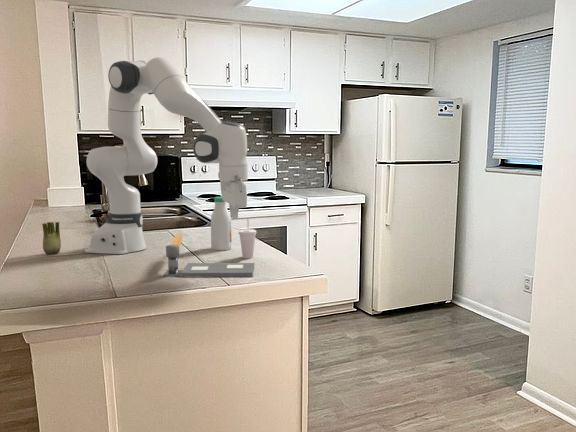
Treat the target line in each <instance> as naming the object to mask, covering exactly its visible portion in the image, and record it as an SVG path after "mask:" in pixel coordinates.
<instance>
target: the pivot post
mask: <svg viewBox="0 0 576 432" xmlns="http://www.w3.org/2000/svg"><path fill="white" fill-rule="evenodd" d="M167 264H168V265H167V267H168V269H166V271H165V272H164V273H163V277H181V272H182V271H183V270H184V269H179V257H174V258H169V257H167Z"/></svg>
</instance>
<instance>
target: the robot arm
mask: <svg viewBox="0 0 576 432" xmlns="http://www.w3.org/2000/svg"><path fill="white" fill-rule="evenodd" d="M107 75H108V76H107V77H108V81H109V84H110V90H109V94H108V100H107V101H108V103H107V127H108V130H109V132H110V133H111V134H112V135H114V136H115V137H117V138H119V139H120V140H121V139H122V142H123V145H122V146H117V145H116V146H101V147H95V148H92V149H91V150H89V152H88V154H87V156H86V167H87V169H88V170H89V172H90V173H91V174H93V175H94V176H95V177H97V178H98V179H99V180H100V181H101V182H102V184H103V185H104V186H105V189H106V191H107V194H108V195H107V196H108V201H109V212H107V214H105V215H104V216H103V217H104V220H105V223H104V224H103V225H101V226H100V227H99V228H97V229H96V230H95V231H94V232H93V233H92V234H91V237H90V242H89V245H87V246H85V247H84V251H83V252H84V253H86V254H107V255H110V254H111V255H112V254H113V255H124V254H127V253H133V252H139V251H144V250H145V249H147V248H148V247H147V244H146V240H145V237H144V236H145V235H144V232H143V223H144V222H143V221H144V220H143V212H142V211H141V210H142V209H141V193H140V191H139V189H138V188H136V187H135V186H133V185H131V184H128V183H126V181H125V178H124V177H126V176H142V175H147V174H150V173H153V172H154V171H155V169H156V168H157V165H158V156H157V154H156V153H157V152H155V150H153V149H152V147H150V146H149V145H148V143H146V141H145V140H144V138H143V136H142V131H141V98H142V97H143V95H145V94H148V95H149V96H150V95H154V97H155V98H156V100H157V101H158V103H159V104H160V105H161V106H162V107H163V108H164V109H166V110H167V112H169V113H170V114H171V113H172V114H175V115H177V116H181V117H185V118H188V119H190V120H193V121H195V122H197V123H198V124H199V125H200V126H201V127H202V128H203V129H204V131H205V132H204V133H201V134H198V135H197V136H196V137H195V139H194V140H193V144H192V151H193V155H194V157H195V159H196V160H197V161H199V162H200V163H203V164H218V173H217V175H218V176H217V177H218V179H219V181H220V182H219V183H220V191H221V193H220V194H221V197H222V199H223V201H225V202H227V203H226V204H228V208H229V209H228V210H229V214H230V218H231V220H238V218H239V211H240V209H243V208H244V209H245V208H247V205H248V196H247V195H248V194H247V185H246V183H245V182H244V181H248V178H249V177H248V161H247V154H248V138H247V131H246V129H245V125H243V124H241V123H238V122H234V121H233V122H232V121H222V120H221V118H219V116H218V115H217V114H216V112H215V111H214V110H213V109H212V108H211V107H210V106H209V104H207V103H206V102H205V101H204V100H203V99H202V98H201V97H200V96H199V95H198V94H197V93H196V91H194V89H192V88H191V86H190V85H189V84H188V82H187V81H186V80H185V79H184V77H183V76H182V74H181V72H180V71H179V70H178V69H177V68H176V67H175V66H174V65H173V64H172V63H171V62H170V61H169V60H168V59H166V58H165V57H159V56H157V57H153V58H151V59H150V60H129V61H126V60H119V61H116V62H114V63H112V64H111V65H110V68H109V69H108V73H107Z"/></svg>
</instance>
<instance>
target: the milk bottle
mask: <svg viewBox="0 0 576 432" xmlns="http://www.w3.org/2000/svg"><path fill="white" fill-rule="evenodd" d="M213 200H214V209H213V211H212V214H211V218H210V245H211V247H210V248H211V249H212V250H214V251H228V250H231V249H232V218H231V217H230V211H229V209H228V208H227V204H228V203H227V202H225V201H223V199H222V196H215V197H214V198H213Z"/></svg>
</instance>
